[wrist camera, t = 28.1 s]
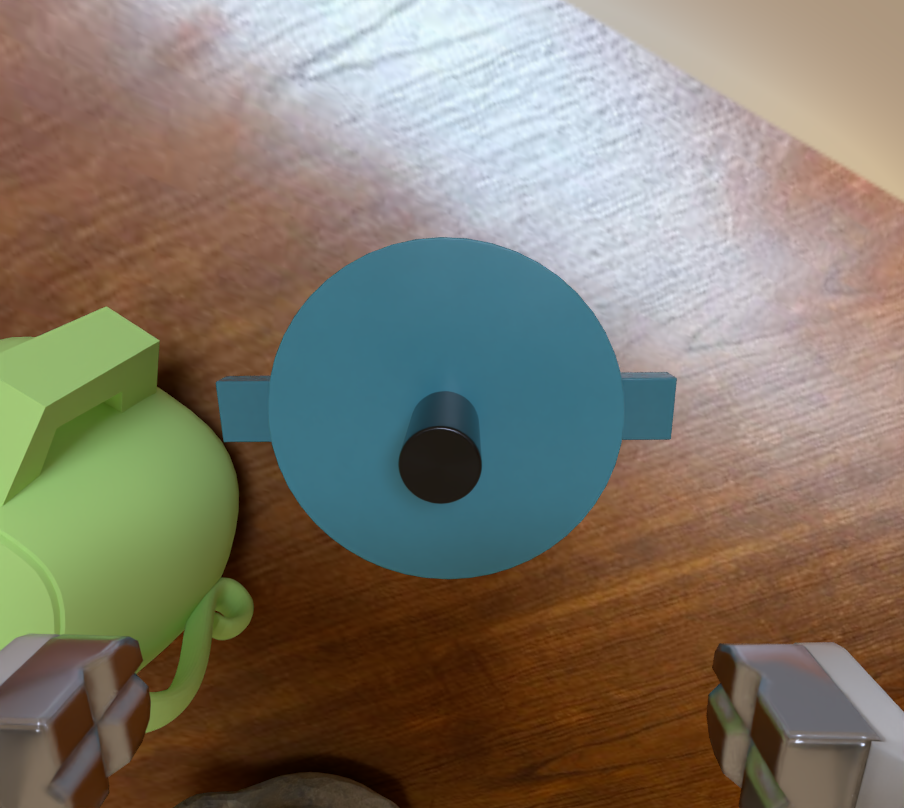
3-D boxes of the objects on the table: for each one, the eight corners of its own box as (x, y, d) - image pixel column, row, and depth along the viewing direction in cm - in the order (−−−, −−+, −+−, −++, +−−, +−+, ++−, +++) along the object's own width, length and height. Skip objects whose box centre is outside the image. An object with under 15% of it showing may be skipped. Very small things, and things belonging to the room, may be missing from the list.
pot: (278, 250, 28) (187, 253, 19) (621, 245, 28) (698, 246, 18) (299, 466, 31) (230, 559, 22) (606, 465, 31) (666, 558, 22)
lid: (259, 240, 19) (189, 239, 14) (628, 234, 19) (685, 231, 14) (293, 564, 23) (246, 652, 18) (606, 564, 22) (645, 653, 18)
